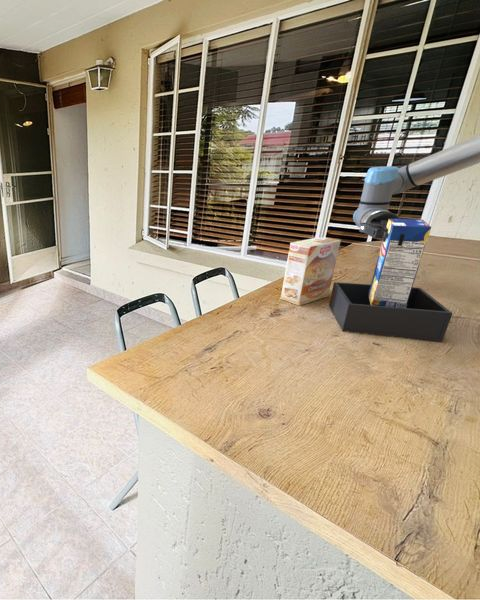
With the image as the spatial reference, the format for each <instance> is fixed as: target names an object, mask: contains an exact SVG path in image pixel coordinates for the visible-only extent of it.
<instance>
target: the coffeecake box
mask: <svg viewBox="0 0 480 600" xmlns="http://www.w3.org/2000/svg"><path fill="white" fill-rule="evenodd" d="M341 242H342V240H341V239H338V238H332V237H326V236H316V237H313V238H307V239H302V240H297V241H293V242H292V241H291V242H290V243H289V248H288V254H287V260H286V266H285V271H284V272H285V273H284V278H283V282H282V289H281V294H280V300H282V301H285V302H287V303H290V304H293V305H297V306H303V305H305V304H309V303H312V302H315V301H318V300H322V299H324V298H327V297H329V294H330V290H331V285H332V281H333V276H334V272H335V268H336V263H337V259H338V254H339V250H340V247H341V246H340V245H341Z"/></svg>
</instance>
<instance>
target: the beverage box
mask: <svg viewBox="0 0 480 600" xmlns="http://www.w3.org/2000/svg"><path fill="white" fill-rule="evenodd" d="M387 229H388V233H389V236H388V239H386V240H385V242H382V241H381V246H380V249H379V252H378V256H377V261H376V264H375V267H374V271H373V274H372V275H373V276H372V279H371V282H370V285H371V286H370V290H369V293H368V295H369V300H370V305H374V306H386V307H398V308H406V305H407V302H408V299H409V296H410V293H411V290H412V287H414V283H415V280H416V277H417V274H418V271H419V267H420V264H421V261H422V258H423V254H424V251H425V248H426V245H427V243H428V239H429V235H430V233H431V229H432V226H431V225H430V224H429V223H428V222H426V221H425V220H424V219H419V218H418V219H414V218H413V219H412V218H400V219H388V223H387ZM400 235H405V236H404V240H403V243H402V246H398V242H399V238H400Z"/></svg>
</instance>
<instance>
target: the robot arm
mask: <svg viewBox="0 0 480 600" xmlns="http://www.w3.org/2000/svg"><path fill="white" fill-rule="evenodd" d="M478 164H480V134H478V135H475V136H473V137H470V138H469V139H465V140H463V141H460V142H459V143H456V144H454V145H452V146H449V147H447V148H445V149H442V150H440V151H437V152H435V153H433V154H430V155H427V156H425V157H423V158H420V159H418V160H416V161H413V162H411V163H409V164H405V165H403V166H401V167H398V166H392V165H390V166H385V165H384V166H372V167H370V168H369V169H368V170H367V172H366V176H365V178H364V183H363V188H362V193H361V196H360V201H359V205H358V208H357V209H356V210H355V211H354V213H353V215H352V220H353V222H354V223H355V225H356V226H357V228H359V229H358V232H359V233H363V234H365V235H367V236H369V237H371V238H373V239H377V240H378V239H382V240H381V243H382V242H385V240H386V239H388V236H389V233H388V229H387V223H388V219H401V218H400V217H399V216H398V215H397V214H395V213H394V212H391V211H389V209H390V204H391V201H392V197H393V195H398V194H401V193H404V192H406V191H407V190H411V189H413V188H415V187H418V186H421V185H424V184H426V183H430V182H432V181H435V180H437V179H440V178H443V177H446V176H448V175H451V174H453V173H456V172H459V171H462V170H464V169H467V168H469V167H473V166H475V165H478ZM404 236H405V235H400V238H399V242H398V246H402V243H403V240H404Z"/></svg>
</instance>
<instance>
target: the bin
mask: <svg viewBox="0 0 480 600" xmlns="http://www.w3.org/2000/svg"><path fill="white" fill-rule="evenodd" d="M370 286H371V283H370V284H369V283H354V282H353V283H352V282H339V281H338V282H337V281H333V284H332V289H331V294H330V297H329V303H328V307H329V309H330V311H331V313H332V314H333V317H334V316H335V317H334V318H335V320H336V322H337V324H338V326H339V325H340V326H339V328H340V327H341V328H340V330H341V329H342V330H341V332H345V331H349V332H348V333H354V332H359V333H358V334H363V333H368V334H367V335H372V334H374V335H373V336H381V335H383V336H384V337H390V336H394V337H393V338H399V337H403V338H402V339H408V338H410V339H409V340H417V339H418V341H426V340H427V341H428V342H435V341H436V342H435V343H437V342H438V343H443V340H444V337H445V336H446V332H447V330H448V327H449V324H450V322H451V319H452V316H453V312H452V311H451V310H450V309H448V308H447V307H445V306H444V305H443V304H441V303H440V302H439V301H438V300H437V299H435V298H434V297H433V296H431V295H430V294H429V293H428V292H427V291H425V290H424V289H423V288H421V287H417V286H416V287H415V286H413V287H412V290H411V293H410V296H409V299H408V302H407V305H406V308H398V307H386V306H374V305H370V300H369V295H368V293H369V290H370ZM383 336H382V337H383Z"/></svg>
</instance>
